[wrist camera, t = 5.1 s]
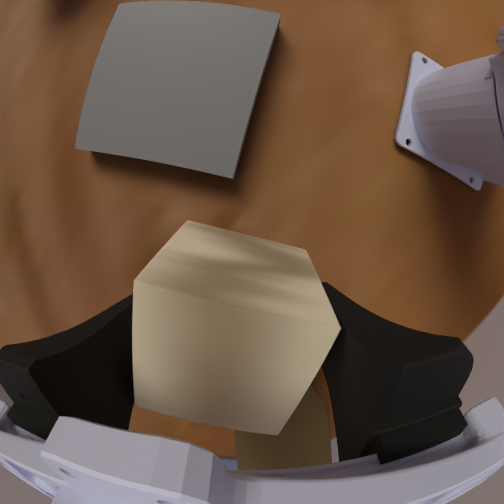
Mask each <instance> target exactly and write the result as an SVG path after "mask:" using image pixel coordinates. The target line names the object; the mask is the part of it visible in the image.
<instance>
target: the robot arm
mask: <svg viewBox="0 0 504 504" xmlns="http://www.w3.org/2000/svg"><path fill="white" fill-rule="evenodd" d="M498 36H499V37H497V38H496V42H497V44H498V46H499V48H500V50H502V51H503V52H501V53H498V54H494V55H490V56H486V57H482V58H478V59H474V60H471V61H467V62H463V63H460V64H456V65H453V66H450V67H447V68H443V67H442V66H440V65H439V64H437V63H436V62H434V61H433V60H431V59H430V58H428V57H426V56H425V55H423V54H422V53H420V52H414V53H412V57H411V63H410V69H409V75H408V80H407V86H406V91H405V96H404V100H403V105H402V110H401V114H400V118H399V122H398V126H397V130H396V134H395V142H396V143H397V145H399V146H401V147H403V148H405V149H407V150H409V151H410V152H412V153H414V154H416V155H418V156H420V157H422V158H424V159H425V160H427V161H429V162H431V163H433V164H434V165H436V166H438V167H440V168H441V169H443V170H445V171H446V172H448V173H450V174H451V175H453V176H455V177H456V178H458V179H459V180H461V181H462V182H464V183H466V184H467V185H469V186H470V187H472V188H473V189H475V190H480V189H481V187H482V183H483V181H487V182H491V183H494V184H498V185H501V186H504V26H502V27H500V28H499V31H498ZM422 59H423V60H424V61H425V63H424V62H423V61H422ZM406 139H408V140H409V145H407V144H406ZM470 177H471V181H470ZM321 284H322V286H323V288H324V290H325V293H326V295H327V297H328V299H329V302H330V304H331V306H332V309H333V311H334V313H335V315H336V318H337V320H338V322H339V325H340V327H341V329H340V331H339V333H338V335H337V337H336V339H335V341H334V343H333V345H332V347H331V349H330V350H329V352H328V354H327V356H326V358H325V360H324V361H323V363H322V365H321V366H322V369H323V372H324V375H325V378H326V381H327V385H328V388H329V393H330V398H331V404H332V409H333V415H334V422H335V429H336V436H337V444H338V454H339V462H337V463H330V464H324V465H317V466H310V467H301V468H291V469H277V470H248V471H241V470H227V469H226V466H225V464H224V463H223V462H222V461H221V460H220V459H219V458H218V457H216V456H215V455H214V454H213V453H212V452H211V451H210V450H208V449H205V448H203V447H201V446H198V445H196V444H194V443H191V442H189V441H184V440H179V439H175V438H171V437H166V436H160V435H153V434H147V433H140V432H135V431H130V430H128V428H129V423H130V418H131V413H132V408H133V404H134V400H135V398H134V382H133V357H132V316H133V294H132V295H130V296H128V297H126V298H125V299H123V300H121V301H120V302H118V303H116V304H115V305H113V306H111V307H110V308H108V309H106V310H105V311H103V312H101V313H100V314H98V315H96V316H94V317H93V318H91V319H89V320H87V321H85V322H83V323H81V324H79V325H77V326H75V327H73V328H71V329H68V330H66V331H63V332H60V333H58V334H55V335H52V336H49V337H46V338H42V339H39V340H35V341H30V342H25V343H19V344H12V345H5V346H4V347H2V348H1V350H0V383H1V385H2V386H3V388H4V389H5V391H6V392H7V394H8V395H9V396H10V398H11V399H12V400H13V402H14V404H13V406H12V407H11V408H10V406H8V405H7V404H6V403H5V402H4V401H2V400H0V464H1V465H2V466H4V467H5V468H6V469H8V470H9V471H10V472H12V473H13V474H15V475H16V476H17V477H19V478H20V479H22V480H23V481H25V482H26V483H28V484H29V485H31V486H33V487H34V488H36V489H37V490H39V491H40V492H42V493H44V494H45V495H47V496H49V497H50V498H52V499H53V501H52V504H446V503H448V502H450V501H451V500H453V499H455V498H457V497H459V496H461V495H462V494H464V493H466V492H467V491H469V490H471V489H472V488H474V487H476V486H477V485H479V484H480V483H482V482H484V481H485V480H486V479H488V478H489V477H490V476H491V475H492V474H494V473H495V472H496V471H497V470H498V469H499V468H500V467H502V466H503V465H504V409H503V408H502V406H501V405H500V403H499V402H498V400H497V399H496V397H491V398H489V399H488V400H486V401H484V402H482V403H480V404H478V405H476V406H474V407H473V408H471V409H470V410H469V411H468V412H467V413H466V414H465V415H464V416H463V414H462V413H461V411H460V409H459V408H460V407H461V406H462V402H461V400H460V398H459V396H458V395H459V393H460V392H461V390H462V388H463V386H464V385H465V383H466V381H467V379H468V377H469V375H470V372H471V370H472V367H473V356H472V354H471V352H470V351H469V350H468V349H467V347H466V346H465V345H464V344H463V342H462V341H461V340H460V339H459V338H457V337H449V336H442V335H435V334H430V333H425V332H421V331H417V330H414V329H410V328H407V327H404V326H401V325H398V324H396V323H393V322H391V321H388V320H386V319H384V318H382V317H380V316H378V315H376V314H374V313H372V312H370V311H368V310H366V309H365V308H363V307H361V306H360V305H358V304H357V303H355V302H354V301H352V300H351V299H349V298H348V297H346V296H345V295H343V294H342V293H341V292H339V291H338V290H337V289H335V288H334V287H332V286H331V285H330V284H328V283H327V282H321Z"/></svg>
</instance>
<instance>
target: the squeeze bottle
mask: <svg viewBox="0 0 504 504" xmlns="http://www.w3.org/2000/svg"><path fill="white" fill-rule="evenodd" d="M235 434H236V450H237V465H238V470H241V471H248V470H277V469H291V468H301V467H310V466H317V465H324V464H330V463H332V461H331V460H332V459H331V444H330V430H329V418H328V409H327V407H326V405H325V404H324V402H323V401H322V399H321V398H320V397H319V395H318V394H317V393H316V391H315V390H314V388H313V387H312V386H311V384H310V386H309V388H308V389H307V391H306V392H305V394H304V396H303V397H302V399H301V401H300V402H299V404H298V405H297V407H296V409H295V410H294V412H293V413H292V415H291V416H290V418H289V419H288V421H287V422H286V424H285V425H284V427H283V428H282V430H281V431H280V433H279V434H278V435H270V434H261V433H253V432H246V431H239V430H235Z"/></svg>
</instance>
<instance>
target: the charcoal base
mask: <svg viewBox="0 0 504 504" xmlns="http://www.w3.org/2000/svg"><path fill="white" fill-rule="evenodd" d="M280 17H281V14H278V13H274V12H270V11H265V10H260V9H254V8H249V7H243V6H236V5H229V4H220V3H210V2H197V1H140V2H127V3H120V4H119V6H118V8H117V10H116V12H115V14H114V17H113V19H112V21H111V23H110V26H109V28H108V31H107V33H106V35H105V38H104V41H103V43H102V46H101V49H100V51H99V54H98V57H97V60H96V63H95V66H94V69H93V72H92V75H91V79H90V82H89V86H88V89H87V93H86V97H85V100H84V105H83V109H82V113H81V117H80V122H79V127H78V132H77V138H76V143H75V149H80V150H87V151H95V152H101V153H108V154H114V155H120V156H126V157H132V158H138V159H143V160H149V161H154V162H159V163H164V164H169V165H174V166H179V167H184V168H188V169H193V170H197V171H202V172H206V173H211V174H215V175H219V176H223V177H227V178H231V179H233V178H234V177H235V175H236V171H237V167H238V163H239V159H240V156H241V152H242V148H243V145H244V141H245V137H246V134H247V130H248V126H249V123H250V119H251V116H252V112H253V109H254V105H255V102H256V98H257V95H258V92H259V88H260V85H261V82H262V78H263V75H264V72H265V68H266V65H267V62H268V59H269V55H270V52H271V49H272V46H273V43H274V40H275V37H276V33H277V30H278V27H279V23H280Z"/></svg>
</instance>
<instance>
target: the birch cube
mask: <svg viewBox="0 0 504 504" xmlns="http://www.w3.org/2000/svg"><path fill="white" fill-rule="evenodd" d="M340 329H341V327H340V325H339V322H338V320H337V318H336V315H335V313H334V311H333V309H332V306H331V304H330V302H329V299H328V297H327V295H326V293H325V290H324V288H323V286H322V284H321V281H320V279H319V277H318V275H317V273H316V270H315V268H314V266H313V264H312V262H311V260H310V257H309V255H308V253H307V251H306V250H305V249H301V248H297V247H293V246H289V245H285V244H281V243H277V242H273V241H270V240H266V239H262V238H258V237H254V236H250V235H246V234H242V233H238V232H234V231H230V230H226V229H222V228H218V227H213V226H209V225H205V224H201V223H197V222H193V221H189V220H187V221H186V222H185V223H184V225H183V226H182V227H181V228H180V229H179V230H178V231H177V232H176V233H175V234H174V235H173V236H172V238H171V239H170V240H169V241H168V242H167V243H166V244H165V245H164V246H163V247H162V249H161V250H160V251H159V252H158V253H157V254H156V255H155V256H154V258H153V259H152V260H151V261H150V262H149V263H148V264H147V266H146V267H145V268H144V269H143V270H142V271H141V273H140V274H139V275H138V276H137V277H136V278H135V280H134V289H133V316H132V357H133V382H134V398H135V405H136V406H139V407H142V408H145V409H149V410H152V411H155V412H159V413H162V414H165V415H169V416H173V417H177V418H180V419H184V420H188V421H193V422H197V423H202V424H206V425H211V426H216V427H222V428H227V429H233V430H239V431H246V432H253V433H261V434H270V435H278V434H279V433H280V431H281V430H282V428H283V427H284V425H285V424H286V422H287V421H288V419H289V418H290V416H291V415H292V413H293V412H294V410H295V409H296V407H297V405H298V404H299V402H300V401H301V399H302V397H303V396H304V394H305V392H306V391H307V389H308V388H309V386H310V384H311V382H312V381H313V379H314V377H315V376H316V374H317V372H318V370H319V369H320V367H321V365H322V363H323V361H324V360H325V358H326V356H327V354H328V352H329V350H330V349H331V347H332V345H333V343H334V341H335V339H336V337H337V335H338V333H339V331H340Z"/></svg>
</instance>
